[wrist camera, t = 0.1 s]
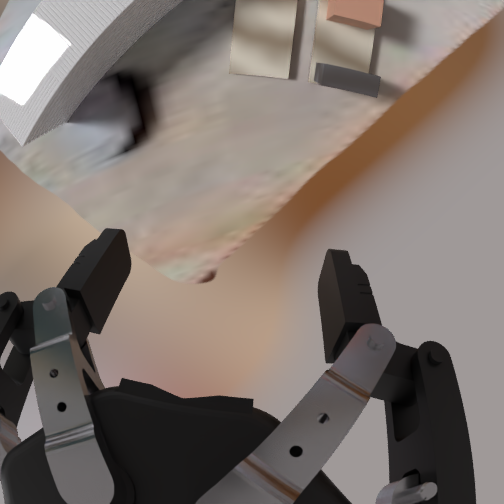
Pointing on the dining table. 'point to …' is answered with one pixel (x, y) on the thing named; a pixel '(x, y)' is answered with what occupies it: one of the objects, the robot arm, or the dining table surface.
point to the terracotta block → (356, 12)
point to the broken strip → (263, 37)
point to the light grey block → (67, 58)
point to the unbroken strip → (342, 55)
